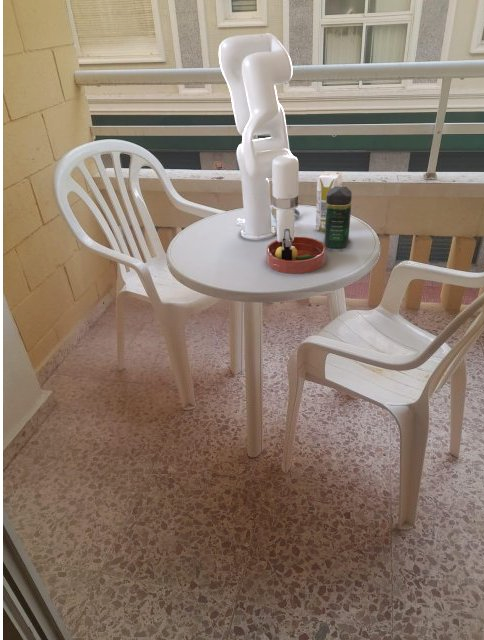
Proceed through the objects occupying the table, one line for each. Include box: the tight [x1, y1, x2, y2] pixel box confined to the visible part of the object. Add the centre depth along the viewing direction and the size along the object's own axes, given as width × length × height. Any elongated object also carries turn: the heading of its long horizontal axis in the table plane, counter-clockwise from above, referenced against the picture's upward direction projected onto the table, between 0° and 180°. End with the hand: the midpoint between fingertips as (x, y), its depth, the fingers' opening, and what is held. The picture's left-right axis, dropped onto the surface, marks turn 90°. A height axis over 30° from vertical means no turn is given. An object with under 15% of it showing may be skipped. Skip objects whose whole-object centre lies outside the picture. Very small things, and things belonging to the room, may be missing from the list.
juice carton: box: [315, 171, 343, 232], centre depth 158 cm, size 8×9×19 cm
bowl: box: [265, 235, 327, 275], centre depth 142 cm, size 18×18×4 cm
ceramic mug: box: [271, 204, 301, 220], centre depth 172 cm, size 11×8×8 cm
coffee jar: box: [323, 186, 353, 250], centre depth 147 cm, size 10×8×19 cm
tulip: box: [275, 246, 316, 260], centre depth 142 cm, size 13×5×4 cm, turn 90°
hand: (286, 257), depth 143 cm, fingers closed on tulip, 4 cm apart
